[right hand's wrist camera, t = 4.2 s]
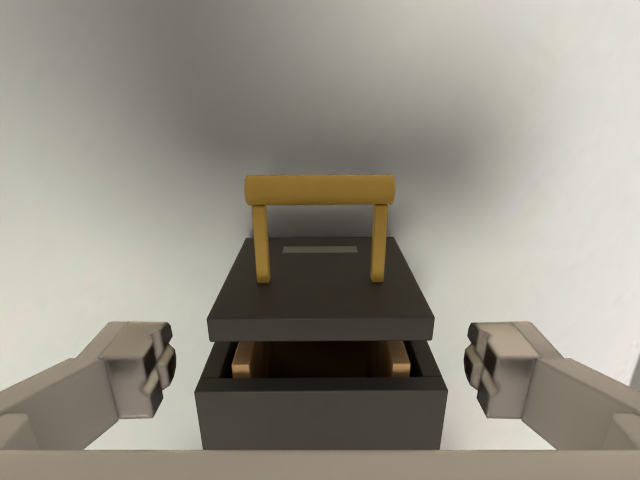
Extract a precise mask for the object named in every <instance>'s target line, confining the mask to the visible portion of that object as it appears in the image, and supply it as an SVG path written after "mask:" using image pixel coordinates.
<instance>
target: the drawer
mask: <svg viewBox="0 0 640 480" xmlns="http://www.w3.org/2000/svg"><path fill="white" fill-rule="evenodd" d="M394 197H395V179H394V176H393V175H391V174H390V175H248V176H246V179H245V199H246V202H247V204H248V205H253V206H252V216H253V230H254V238H246V239H245V241H244V244H243V246H242V248H241V250H240V252H239V254H238V256H237V258H236V260H235V262H234V264H233V266H232V268H231V270H230V272H229V274H228V276H227V278H226V280H225V283H224V285H223V287H222V289H221V291H220V293H219V295H218V297H217V299H216V301H215V303H214V305H213V307H212V309H211V311H210V313H209V315H208V317H207V325H208V333H209V340H210V342H239V343H238V347H237V350H236V353H235V356H234V359H233V362H232V374H233V378H352V377H409V374H410V361H409V358H408V355H407V352H406V349H405V346H404V343H403V341H411V340H432V336H433V328H434V319H435V317H434V315H433V313H432V311H431V309H430V307H429V305H428V303H427V301H426V299H425V297H424V295H423V294H422V292H421V290H420V288H419V286H418V284H417V282H416V280H415V278H414V276H413V274H412V272H411V270H410V268H409V266H408V264H407V262H406V260H405V258H404V256H403V254H402V252H401V250H400V248H399V247H398V245H397V243H396V241H395V239H394V237H386V233H387V216H388V205H387V204H392V203H393V201H394ZM351 204H374V206H373V228H372V237H328V238H268V225H267V207H266V205H351Z"/></svg>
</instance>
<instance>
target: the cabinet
mask: <svg viewBox="0 0 640 480" xmlns="http://www.w3.org/2000/svg"><path fill="white" fill-rule="evenodd" d="M238 343H239V342H215V343H214V345H213V348H212V350H211V353H210V355H209V358H208V360H207V363H206V365H205V367H204V370H203V372H202V375H201V377H200V380H199V382H198V384H197V387H196V389H195V392H194V394H195V400H196V406H197V413H198V419H199V426H200V432H201V439H202V445H203V450H439V449H440V443H441V436H442V429H443V422H444V415H445V408H446V401H447V394H448V389H447V387H446V385H445V382H444V380H443V378H442V375H441V373H440V371H439V368H438V366H437V364H436V361H435V359H434V357H433V354H432V352H431V350H430V347H429V345H428V343H427V340H411V341H403V343H404V346H405V349H406V352H407V355H408V358H409V361H410V374H409V377H352V378H233V374H232V362H233V359H234V356H235V353H236V350H237V347H238Z"/></svg>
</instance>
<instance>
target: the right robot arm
mask: <svg viewBox="0 0 640 480" xmlns="http://www.w3.org/2000/svg"><path fill="white" fill-rule="evenodd" d="M172 336H173V335H172V330H171V325H170V324H169V323H168V322H133V321H132V322H129V321H113V322H109V323H108V324H107V325H106V326H105V327H104V328H103V329H102V330H101V331H100V332H99V334H98V335H97V336H96V337H95V338H94V339H93V340H92V341H91V342H90V343H89V344H88V346H87V347H86V348H85V349H84V350H83V351H82V352H81V353H80V354H79V355H78V356H77V357H76V358H69V359H67V360H65V361H63V362H61V363H59V364H57V365H55V366H53V367H51V368H49V369H46V370H44V371H42V372H40V373H38V374H36V375H34V376H32V377H30V378H28V379H26V380H24V381H21V382H19V383H17V384H15V385H13V386H11V387H9V388H7V389H5V390H3V391H1V392H0V480H640V392H639V391H637V390H635V389H633V388H631V387H629V386H627V385H625V384H623V383H620V382H618V381H616V380H614V379H612V378H610V377H608V376H606V375H604V374H602V373H600V372H598V371H596V370H593V369H591V368H589V367H587V366H585V365H583V364H581V363H579V362H577V361H575V360H573V359H571V358H563V356H562V355H561V354H560V353H559V352H558V351H557V350H556V349H555V348H554V347H553V346H552V344H551V343H550V342H549V341H548V340H547V339H546V338H545V337H544V336H543V335H542V334H541V332H540V331H539V330H538V329H537V328H536V327H535V326H534V325H533V324H532V323H530V322H528V321H516V322H485V323H471V324H470V326H469V330H468V335H467V336H468V338H469V340H470V341H471V344H470V345H469V346H468V347H467V348H466V349H465V354H464V369H465V373H466V377H467V379H468V382H469V384H470V385H471V386H472V387H474V388H475V389H476V390H478V394H477V399H478V401H479V403H480V405H481V407H482V409H483V411H484V413H485V415H486V417H487V418H503V419H522V421H523V422H524V423H525V424H526V425H527V426H529V427H530V428H531V429H532V430H534V431H535V432H536V433H537V434H538V435H540V436H541V437H542V438H543V439H545V440H546V441H547V442H548V443H549V444H551V445H552V446H553V447H554V448H556V449H557V450H83V449H85V448H86V447H87V446H88V445H89V444H91V443H92V442H93V441H94V440H96V439H97V438H98V437H99V436H100V435H102V434H103V433H104V432H105V431H107V430H108V429H109V428H110V427H111V426H113V425H114V424H115V423H116V422H118V419H137V418H153V417H154V415H155V413H156V411H157V409H158V407H159V405H160V403H161V401H162V399H163V394H162V390H164V389H165V388H166V387H168V386H169V385H170V384H171V382H172V379H173V377H174V373H175V368H176V354H175V349H174V348H173V347H172V346H171V345H170V344H169V341H170V340H171V338H172Z"/></svg>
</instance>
